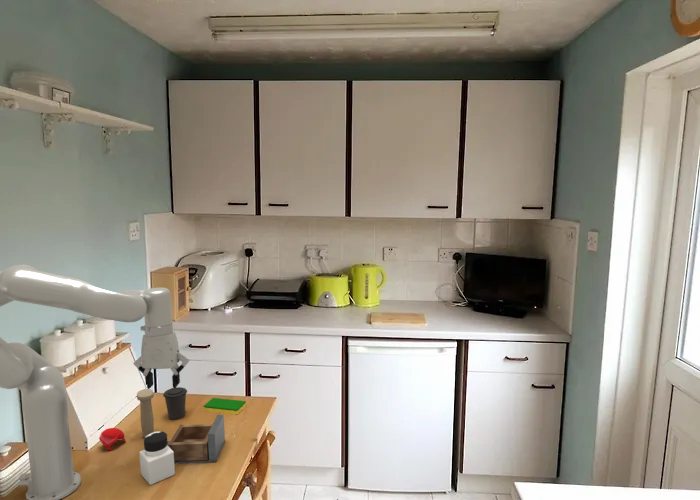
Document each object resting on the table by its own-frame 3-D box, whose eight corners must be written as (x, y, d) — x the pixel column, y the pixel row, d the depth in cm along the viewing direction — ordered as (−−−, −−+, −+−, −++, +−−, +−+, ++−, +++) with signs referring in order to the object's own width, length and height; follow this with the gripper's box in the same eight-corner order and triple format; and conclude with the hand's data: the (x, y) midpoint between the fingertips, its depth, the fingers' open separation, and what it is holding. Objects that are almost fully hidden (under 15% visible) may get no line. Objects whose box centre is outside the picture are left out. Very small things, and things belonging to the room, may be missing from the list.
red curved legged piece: (101, 446, 139) (119, 431, 141) (93, 434, 142) (111, 419, 145) (115, 456, 144) (131, 441, 147) (107, 444, 148) (123, 430, 150)
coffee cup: (170, 410, 167) (168, 385, 166) (192, 411, 167) (190, 385, 166) (160, 422, 159) (158, 394, 158) (183, 422, 159) (181, 395, 158)
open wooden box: (168, 461, 134) (167, 444, 134) (181, 440, 146) (180, 425, 145) (207, 459, 135) (206, 443, 134) (217, 439, 146) (216, 423, 146)
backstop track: (143, 464, 134) (141, 436, 133) (158, 443, 146) (156, 416, 144) (216, 462, 135) (214, 433, 134) (225, 441, 147) (223, 414, 145)
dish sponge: (237, 415, 164) (237, 409, 164) (203, 412, 167) (202, 405, 167) (246, 406, 171) (246, 400, 170) (213, 403, 174) (213, 397, 174)
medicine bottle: (175, 474, 129) (173, 435, 128) (150, 486, 125) (146, 445, 123) (165, 464, 135) (163, 425, 133) (140, 474, 130) (137, 435, 128)
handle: (141, 442, 146) (138, 398, 144) (139, 433, 152) (135, 391, 150) (157, 438, 149) (154, 394, 147) (154, 429, 154) (151, 387, 152)
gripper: (123, 334, 131) (128, 392, 133) (184, 332, 132) (188, 391, 134) (134, 326, 138) (139, 382, 141) (192, 325, 139) (195, 380, 141)
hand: (163, 386), depth 137 cm, fingers open, 7 cm apart
